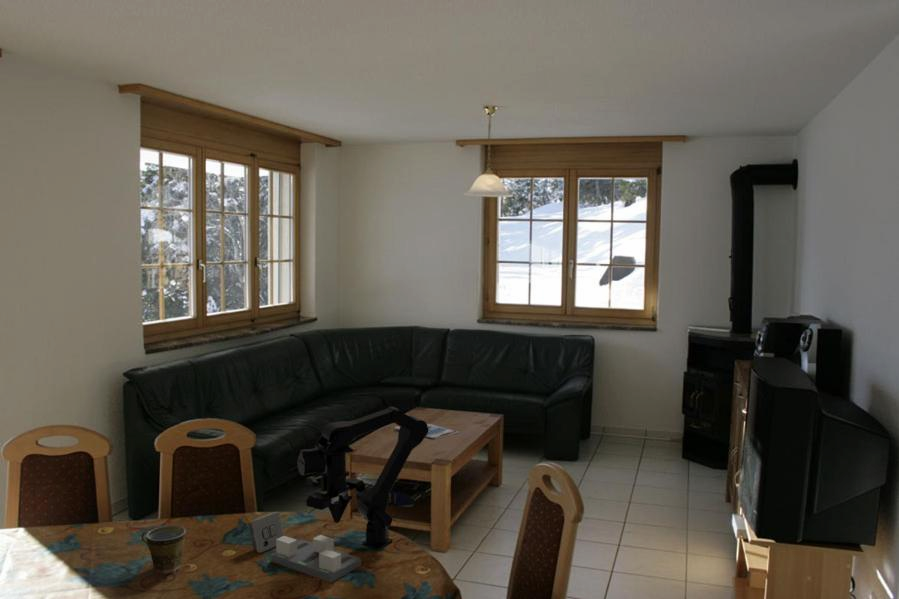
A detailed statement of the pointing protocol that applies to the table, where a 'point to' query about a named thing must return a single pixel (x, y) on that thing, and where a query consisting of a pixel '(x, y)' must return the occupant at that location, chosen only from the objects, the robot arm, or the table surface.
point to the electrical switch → (265, 531)
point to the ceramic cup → (165, 547)
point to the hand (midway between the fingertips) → (336, 522)
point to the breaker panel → (313, 559)
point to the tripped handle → (323, 544)
